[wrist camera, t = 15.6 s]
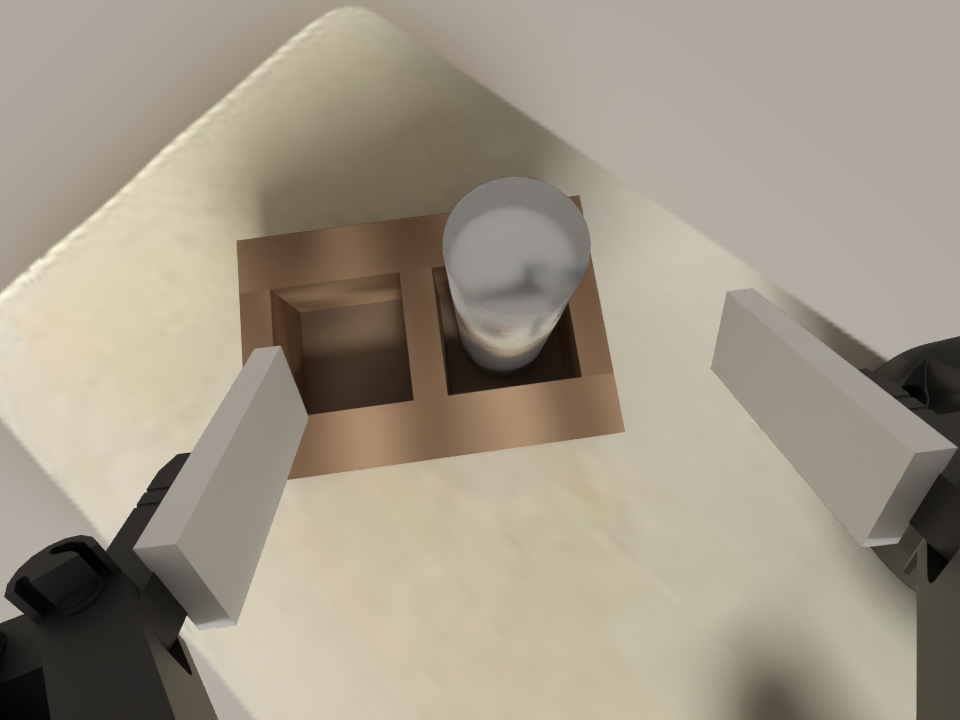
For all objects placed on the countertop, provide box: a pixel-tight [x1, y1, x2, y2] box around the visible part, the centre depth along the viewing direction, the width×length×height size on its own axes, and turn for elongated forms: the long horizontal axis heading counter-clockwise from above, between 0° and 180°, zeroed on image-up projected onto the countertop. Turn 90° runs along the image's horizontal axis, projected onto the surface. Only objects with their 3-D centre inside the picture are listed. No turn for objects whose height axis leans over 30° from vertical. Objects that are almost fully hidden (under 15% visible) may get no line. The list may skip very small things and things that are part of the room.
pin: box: [442, 177, 590, 380], centre depth 21 cm, size 4×4×13 cm
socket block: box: [237, 196, 625, 480], centre depth 25 cm, size 17×12×5 cm
